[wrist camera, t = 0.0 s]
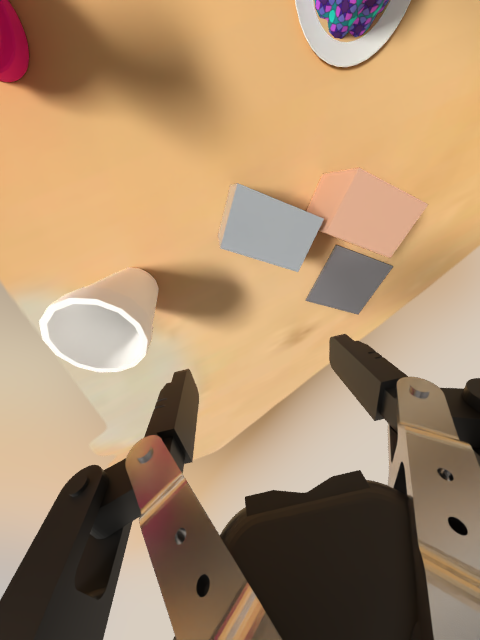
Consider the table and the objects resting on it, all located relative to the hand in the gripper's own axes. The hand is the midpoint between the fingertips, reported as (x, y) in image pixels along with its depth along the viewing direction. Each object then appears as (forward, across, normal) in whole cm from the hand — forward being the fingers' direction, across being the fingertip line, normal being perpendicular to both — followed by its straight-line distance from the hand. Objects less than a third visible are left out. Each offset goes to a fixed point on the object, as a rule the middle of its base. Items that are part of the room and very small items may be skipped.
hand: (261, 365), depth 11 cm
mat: (+23, -20, +6) cm, 31 cm away
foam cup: (+23, +15, -2) cm, 27 cm away
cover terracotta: (+22, -17, -6) cm, 28 cm away
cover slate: (+22, -5, -7) cm, 23 cm away
